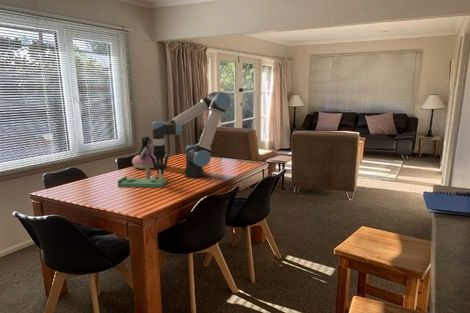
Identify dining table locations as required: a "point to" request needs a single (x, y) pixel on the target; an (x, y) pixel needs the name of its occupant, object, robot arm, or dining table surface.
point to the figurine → (146, 155)
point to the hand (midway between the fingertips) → (160, 179)
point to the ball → (152, 178)
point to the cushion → (138, 162)
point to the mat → (141, 182)
